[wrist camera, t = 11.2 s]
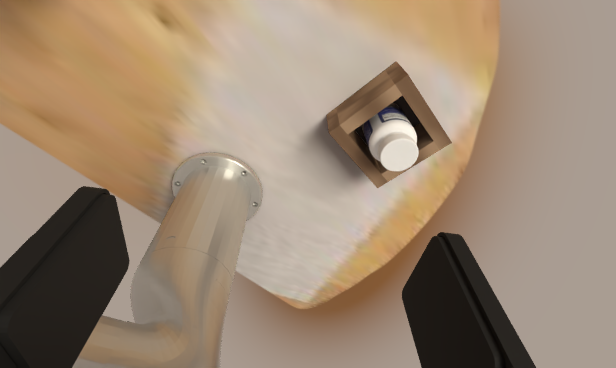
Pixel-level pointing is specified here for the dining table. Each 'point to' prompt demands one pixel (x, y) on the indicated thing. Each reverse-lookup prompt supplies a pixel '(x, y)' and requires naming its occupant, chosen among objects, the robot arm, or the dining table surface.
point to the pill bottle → (391, 138)
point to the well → (372, 102)
